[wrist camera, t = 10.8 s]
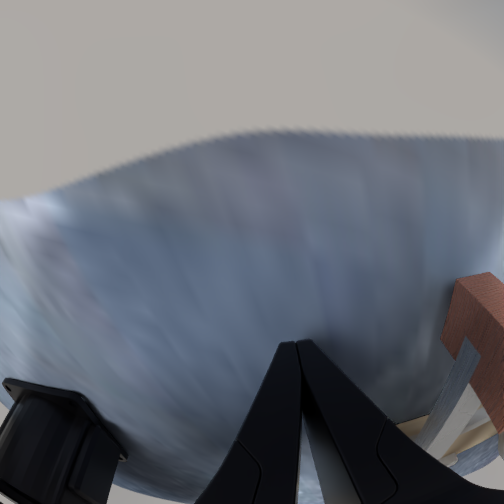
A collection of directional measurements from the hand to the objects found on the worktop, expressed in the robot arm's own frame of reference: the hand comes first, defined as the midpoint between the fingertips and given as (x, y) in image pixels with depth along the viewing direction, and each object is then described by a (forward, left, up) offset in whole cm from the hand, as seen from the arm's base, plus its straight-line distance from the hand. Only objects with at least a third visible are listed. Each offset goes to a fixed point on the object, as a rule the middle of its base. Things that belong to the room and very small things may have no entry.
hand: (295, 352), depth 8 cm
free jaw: (+6, -7, -1) cm, 9 cm away
